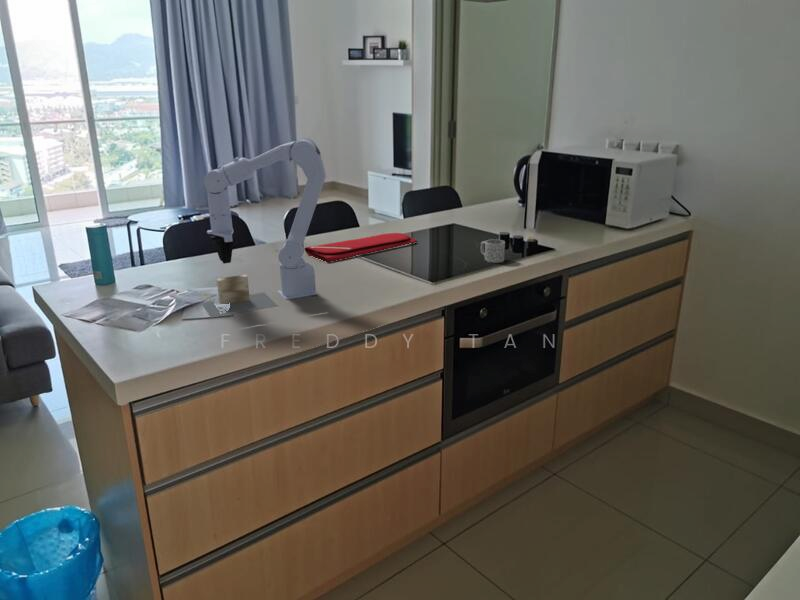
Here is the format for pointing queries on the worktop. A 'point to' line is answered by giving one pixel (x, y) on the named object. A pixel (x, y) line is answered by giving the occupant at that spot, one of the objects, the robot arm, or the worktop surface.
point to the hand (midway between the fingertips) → (225, 261)
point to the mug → (493, 250)
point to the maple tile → (233, 289)
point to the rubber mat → (241, 305)
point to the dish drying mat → (357, 246)
